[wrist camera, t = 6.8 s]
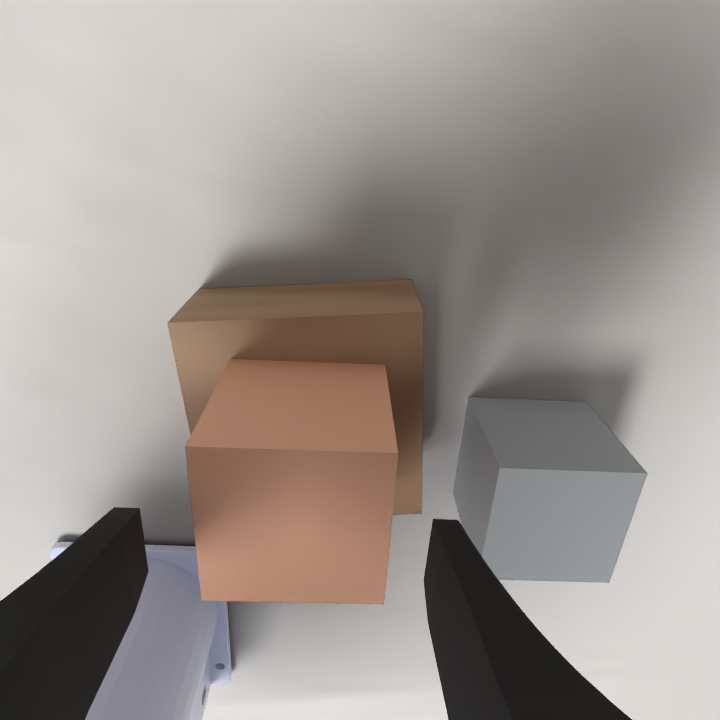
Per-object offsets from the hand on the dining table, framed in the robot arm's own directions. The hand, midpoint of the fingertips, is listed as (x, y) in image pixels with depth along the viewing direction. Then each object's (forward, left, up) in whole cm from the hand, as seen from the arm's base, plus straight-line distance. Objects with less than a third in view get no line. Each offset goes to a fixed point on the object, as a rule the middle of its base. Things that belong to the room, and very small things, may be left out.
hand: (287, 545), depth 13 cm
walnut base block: (0, 0, -10) cm, 10 cm away
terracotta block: (0, 0, -5) cm, 5 cm away
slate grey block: (-3, -9, -9) cm, 13 cm away
